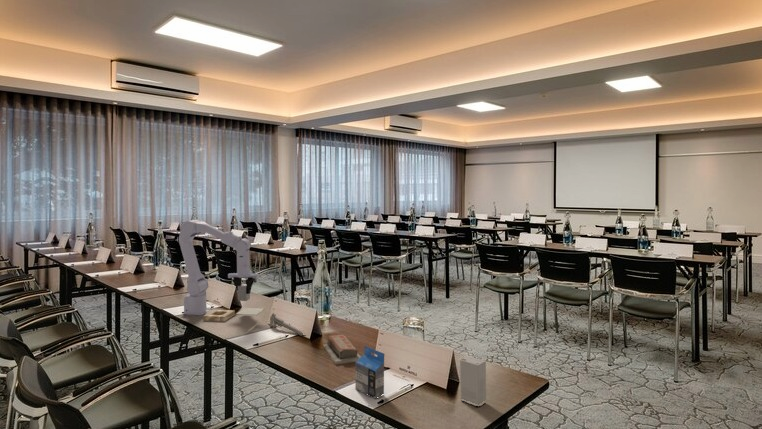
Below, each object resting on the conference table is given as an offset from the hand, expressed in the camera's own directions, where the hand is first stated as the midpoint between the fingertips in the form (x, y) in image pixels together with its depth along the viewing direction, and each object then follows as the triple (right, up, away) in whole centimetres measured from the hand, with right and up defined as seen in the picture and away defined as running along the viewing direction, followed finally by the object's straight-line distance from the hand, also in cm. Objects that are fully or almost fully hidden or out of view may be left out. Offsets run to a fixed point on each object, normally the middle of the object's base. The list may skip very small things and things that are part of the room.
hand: (244, 293), depth 207 cm
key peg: (0, -3, 0) cm, 3 cm away
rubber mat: (+2, -10, +3) cm, 10 cm away
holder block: (-9, -10, -7) cm, 15 cm away
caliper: (+26, -12, -24) cm, 37 cm away
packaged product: (+50, -14, -48) cm, 71 cm away
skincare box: (+90, -16, -83) cm, 124 cm away
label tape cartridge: (+61, -15, -78) cm, 100 cm away
